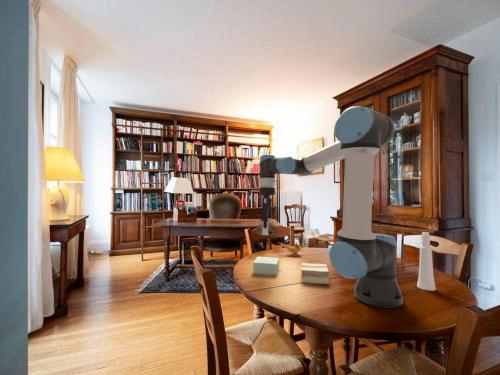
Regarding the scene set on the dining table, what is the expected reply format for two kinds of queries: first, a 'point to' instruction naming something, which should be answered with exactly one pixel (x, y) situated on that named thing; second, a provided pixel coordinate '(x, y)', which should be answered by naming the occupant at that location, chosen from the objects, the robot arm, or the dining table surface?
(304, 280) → the beech block
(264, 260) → the green block
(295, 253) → the magic lamp
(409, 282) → the dining table surface
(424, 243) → the cosmetic bottle
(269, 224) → the brown domed lump
